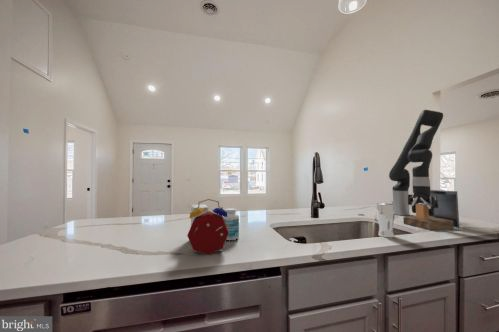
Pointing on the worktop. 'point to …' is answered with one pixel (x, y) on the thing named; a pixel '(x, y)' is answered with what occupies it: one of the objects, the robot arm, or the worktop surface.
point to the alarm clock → (208, 230)
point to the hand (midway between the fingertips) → (422, 214)
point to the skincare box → (198, 208)
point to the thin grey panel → (446, 205)
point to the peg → (422, 212)
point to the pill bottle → (232, 224)
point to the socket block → (429, 223)
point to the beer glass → (385, 219)
